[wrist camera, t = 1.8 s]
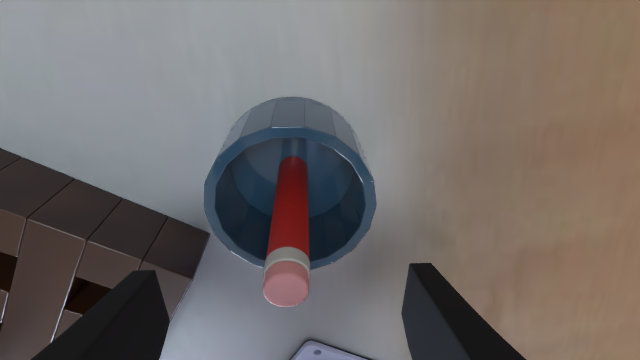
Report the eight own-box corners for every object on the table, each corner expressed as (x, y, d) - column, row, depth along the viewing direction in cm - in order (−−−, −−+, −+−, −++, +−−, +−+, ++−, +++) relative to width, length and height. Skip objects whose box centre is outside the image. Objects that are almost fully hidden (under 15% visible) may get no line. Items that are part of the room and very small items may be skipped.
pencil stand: (210, 233, 20) (193, 279, 16) (144, 356, 24) (122, 409, 21) (-35, 134, 16) (-113, 167, 13) (-55, 298, 21) (-117, 351, 18)
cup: (389, 138, 17) (410, 177, 14) (317, 239, 20) (321, 291, 16) (261, 67, 15) (249, 90, 12) (202, 188, 18) (178, 235, 15)
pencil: (313, 163, 17) (319, 283, 10) (299, 186, 18) (295, 314, 11) (287, 150, 17) (275, 266, 10) (273, 173, 17) (253, 299, 10)
